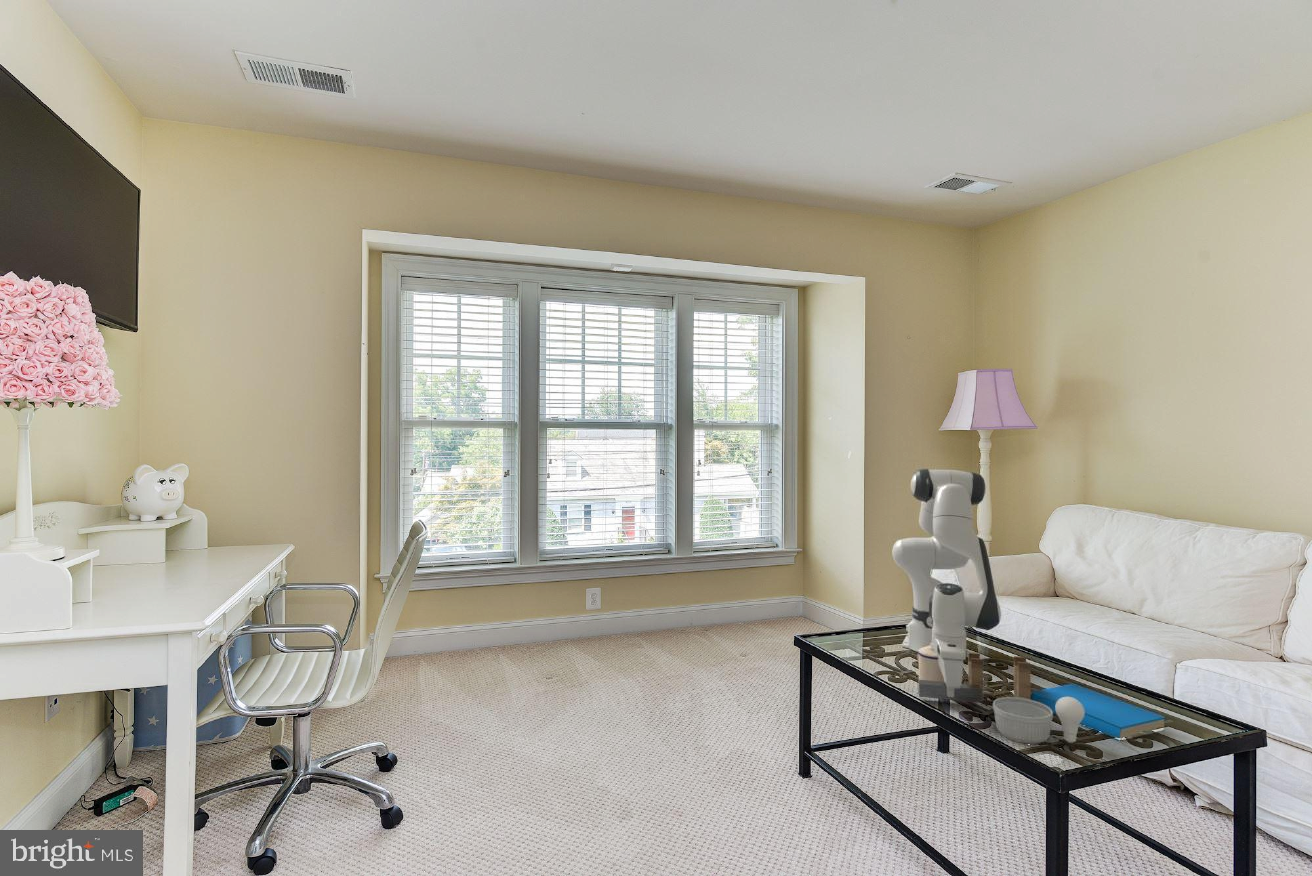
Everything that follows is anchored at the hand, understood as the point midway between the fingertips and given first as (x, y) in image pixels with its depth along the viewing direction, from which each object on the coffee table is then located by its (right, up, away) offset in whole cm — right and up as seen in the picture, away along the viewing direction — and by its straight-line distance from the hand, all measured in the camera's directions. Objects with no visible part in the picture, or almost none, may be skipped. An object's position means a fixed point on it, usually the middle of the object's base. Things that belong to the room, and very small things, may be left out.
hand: (949, 692), depth 188 cm
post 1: (+10, -3, +5) cm, 12 cm away
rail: (0, -1, 0) cm, 1 cm away
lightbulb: (+19, -3, -25) cm, 31 cm away
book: (+34, -3, -10) cm, 36 cm away
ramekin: (+10, -3, -20) cm, 22 cm away
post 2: (+21, -3, +2) cm, 22 cm away
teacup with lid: (+2, -3, +18) cm, 18 cm away
